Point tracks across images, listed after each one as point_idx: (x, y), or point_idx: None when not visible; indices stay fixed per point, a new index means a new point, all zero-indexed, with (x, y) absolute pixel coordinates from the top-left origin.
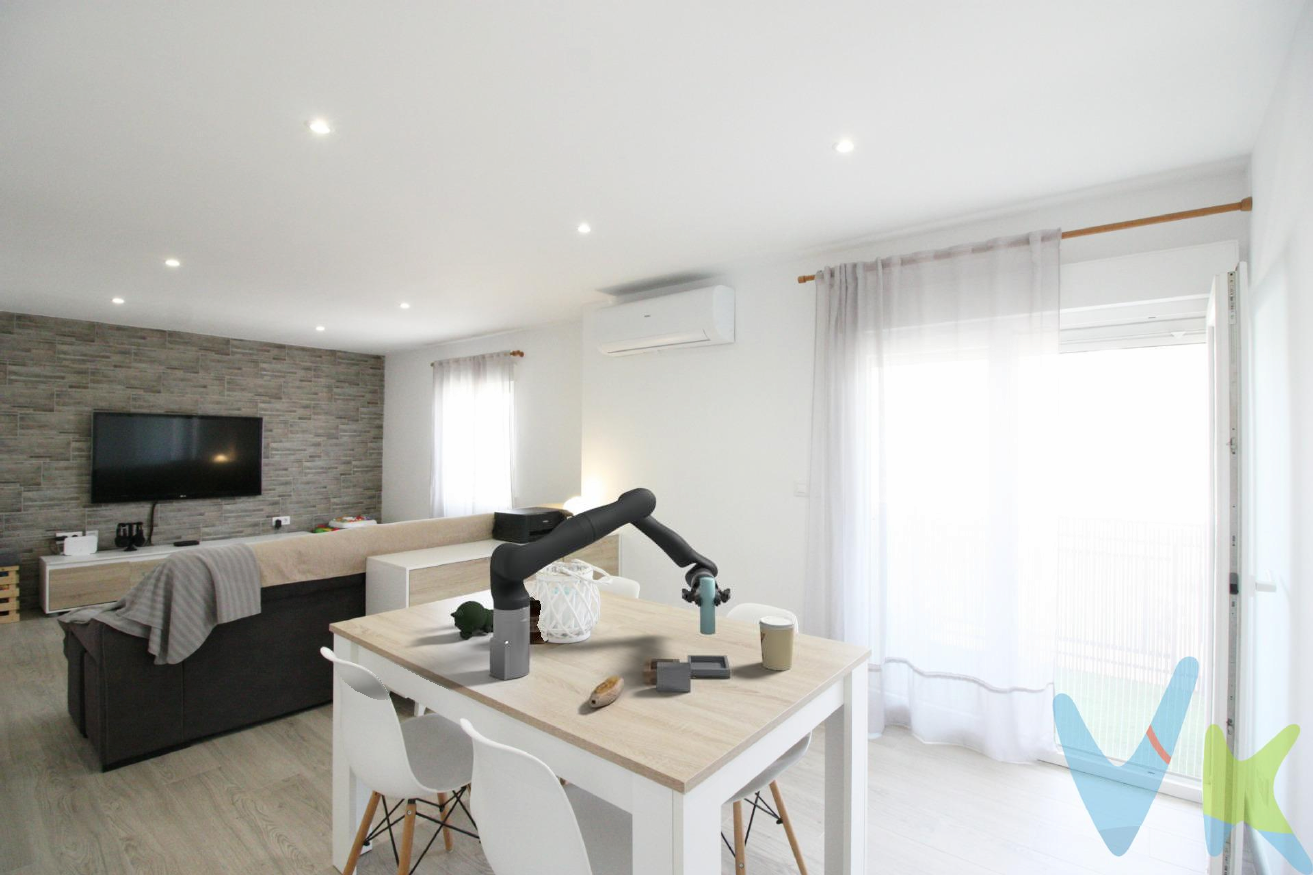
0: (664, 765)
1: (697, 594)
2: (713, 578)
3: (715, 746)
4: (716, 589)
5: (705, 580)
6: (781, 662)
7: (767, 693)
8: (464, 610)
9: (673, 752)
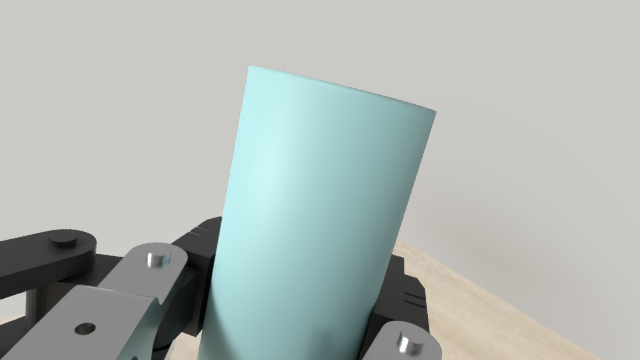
0: (422, 257)
1: (404, 322)
2: (261, 69)
3: None
4: (55, 306)
5: (375, 94)
6: None
7: None
8: None
9: (412, 268)
